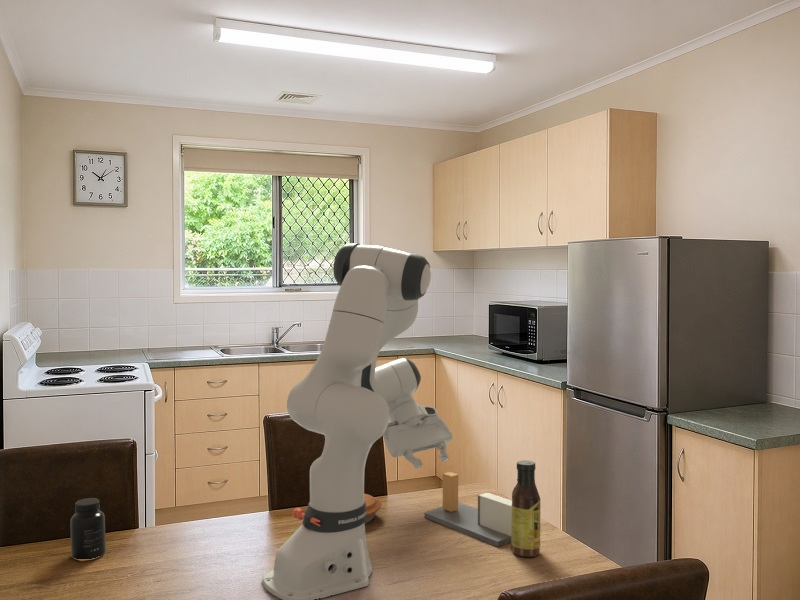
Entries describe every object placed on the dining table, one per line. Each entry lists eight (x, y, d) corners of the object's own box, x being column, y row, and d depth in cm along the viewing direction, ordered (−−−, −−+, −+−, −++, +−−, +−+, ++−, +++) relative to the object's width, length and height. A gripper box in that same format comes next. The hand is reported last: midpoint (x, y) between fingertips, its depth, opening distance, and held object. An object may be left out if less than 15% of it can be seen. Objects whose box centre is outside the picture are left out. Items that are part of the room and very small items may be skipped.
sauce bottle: (540, 559, 146) (540, 468, 145) (510, 557, 148) (511, 466, 147) (540, 547, 153) (541, 459, 152) (511, 545, 154) (512, 457, 153)
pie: (306, 519, 170) (305, 500, 170) (350, 503, 182) (349, 484, 181) (350, 535, 160) (350, 514, 160) (394, 517, 172) (394, 497, 171)
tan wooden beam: (451, 511, 171) (451, 476, 170) (442, 508, 173) (442, 473, 172) (458, 509, 172) (458, 474, 172) (449, 506, 174) (449, 471, 174)
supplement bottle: (66, 555, 149) (64, 501, 148) (97, 546, 154) (96, 493, 153) (79, 565, 144) (77, 509, 143) (111, 555, 149) (109, 500, 148)
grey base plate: (498, 546, 153) (498, 510, 153) (424, 517, 171) (424, 484, 171) (531, 532, 161) (531, 498, 161) (457, 506, 179) (457, 475, 179)
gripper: (383, 418, 175) (408, 464, 168) (440, 407, 188) (466, 449, 182) (372, 432, 179) (396, 477, 172) (429, 420, 192) (454, 462, 185)
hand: (432, 463), depth 177 cm, fingers open, 8 cm apart
